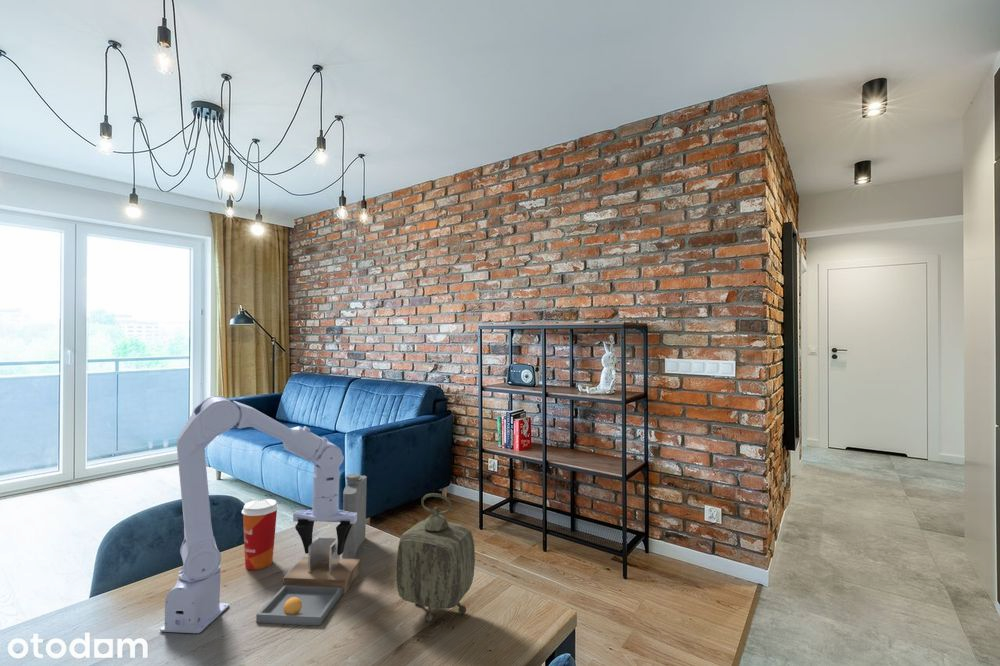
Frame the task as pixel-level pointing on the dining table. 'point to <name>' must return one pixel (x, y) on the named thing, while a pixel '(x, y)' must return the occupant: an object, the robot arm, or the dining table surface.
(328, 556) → the grey arch
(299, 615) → the tray
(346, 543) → the hip flask
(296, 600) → the ball
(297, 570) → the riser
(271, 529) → the coffee cup
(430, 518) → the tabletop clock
